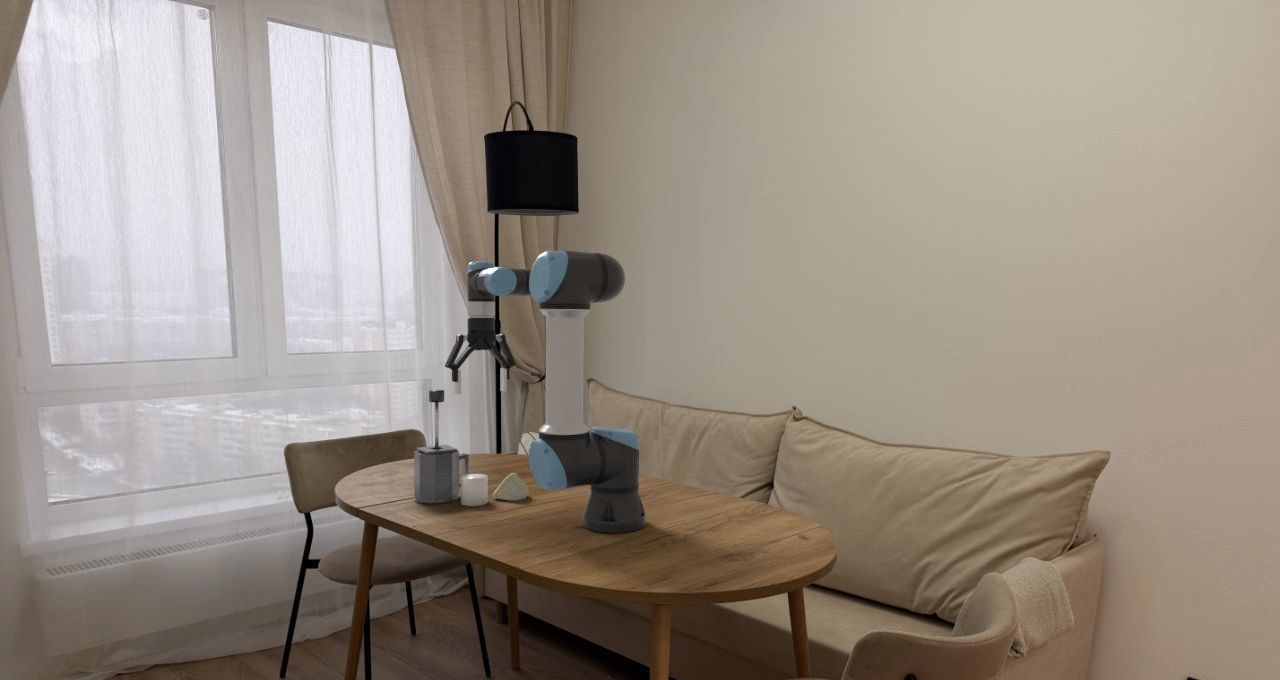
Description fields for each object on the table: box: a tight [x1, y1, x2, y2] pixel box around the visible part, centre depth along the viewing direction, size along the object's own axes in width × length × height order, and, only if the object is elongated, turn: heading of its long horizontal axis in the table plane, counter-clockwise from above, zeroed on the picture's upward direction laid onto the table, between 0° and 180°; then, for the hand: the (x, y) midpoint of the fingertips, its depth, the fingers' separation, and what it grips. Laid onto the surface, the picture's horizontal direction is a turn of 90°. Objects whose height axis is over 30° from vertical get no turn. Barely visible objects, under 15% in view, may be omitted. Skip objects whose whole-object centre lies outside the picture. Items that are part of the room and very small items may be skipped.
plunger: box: [428, 389, 445, 455], centre depth 207 cm, size 8×8×19 cm
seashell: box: [492, 472, 530, 502], centre depth 210 cm, size 8×8×8 cm
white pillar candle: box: [460, 473, 489, 507], centre depth 204 cm, size 7×7×7 cm
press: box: [413, 444, 469, 505], centre depth 208 cm, size 11×14×14 cm
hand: (481, 392), depth 216 cm, fingers open, 13 cm apart
